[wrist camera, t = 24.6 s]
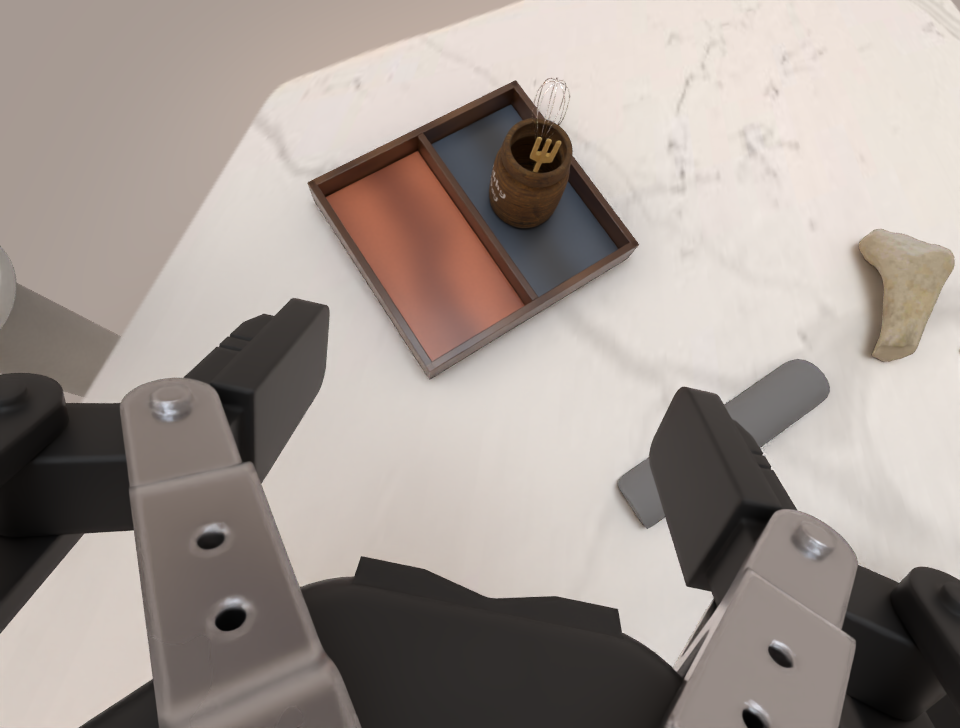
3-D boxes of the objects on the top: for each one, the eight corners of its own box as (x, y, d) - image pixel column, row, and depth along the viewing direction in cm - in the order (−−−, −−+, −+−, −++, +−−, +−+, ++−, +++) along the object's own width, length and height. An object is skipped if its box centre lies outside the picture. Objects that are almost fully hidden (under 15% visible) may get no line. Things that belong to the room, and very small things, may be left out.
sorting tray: (429, 379, 41) (429, 372, 38) (313, 200, 44) (306, 182, 41) (627, 258, 45) (639, 244, 43) (511, 101, 48) (515, 79, 45)
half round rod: (824, 399, 44) (840, 395, 42) (642, 532, 40) (651, 534, 38) (792, 357, 44) (807, 351, 43) (610, 484, 40) (618, 483, 39)
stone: (848, 238, 48) (895, 211, 43) (912, 247, 48) (965, 220, 44) (861, 358, 45) (912, 343, 40) (928, 365, 46) (986, 351, 41)
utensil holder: (559, 175, 46) (604, 66, 34) (552, 240, 44) (596, 149, 32) (492, 162, 45) (515, 48, 34) (482, 227, 44) (501, 131, 32)
